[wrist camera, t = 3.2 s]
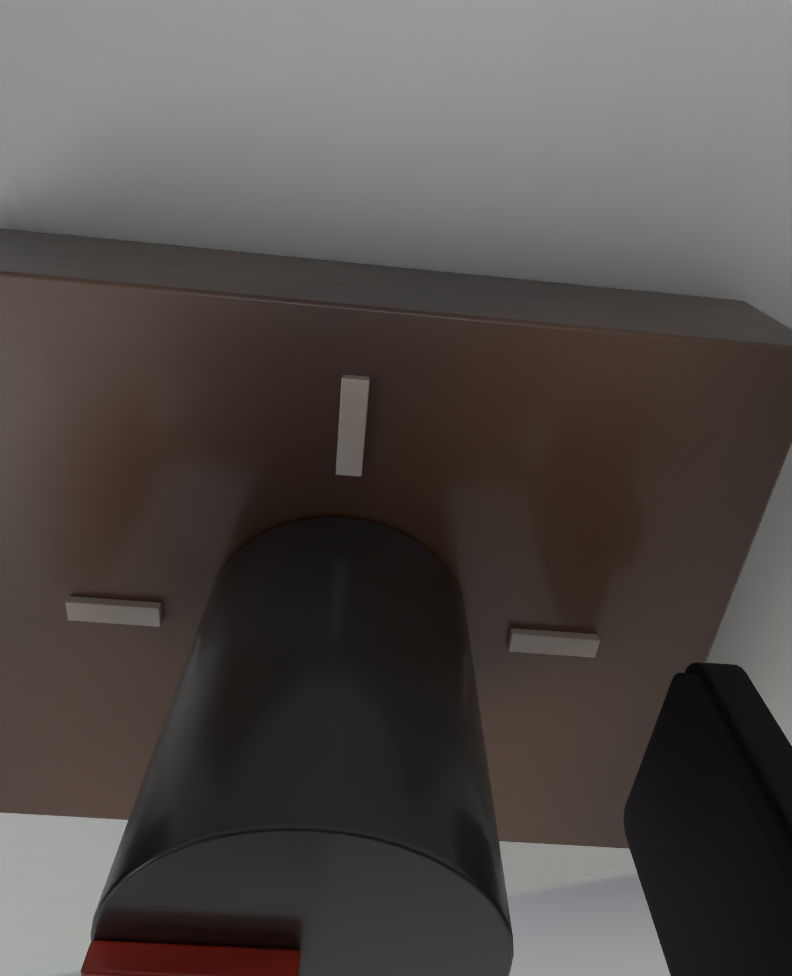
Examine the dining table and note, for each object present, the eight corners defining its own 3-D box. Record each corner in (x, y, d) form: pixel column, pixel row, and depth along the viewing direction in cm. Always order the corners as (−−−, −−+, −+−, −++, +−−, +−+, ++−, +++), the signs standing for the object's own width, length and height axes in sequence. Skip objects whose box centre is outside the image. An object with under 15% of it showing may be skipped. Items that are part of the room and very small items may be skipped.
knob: (484, 526, 10) (558, 874, 6) (448, 726, 12) (482, 1111, 8) (204, 504, 10) (47, 847, 6) (210, 711, 12) (99, 1096, 8)
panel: (746, 301, 11) (837, 354, 9) (600, 747, 16) (635, 857, 14) (-34, 225, 11) (-150, 261, 9) (52, 711, 16) (-8, 821, 13)
